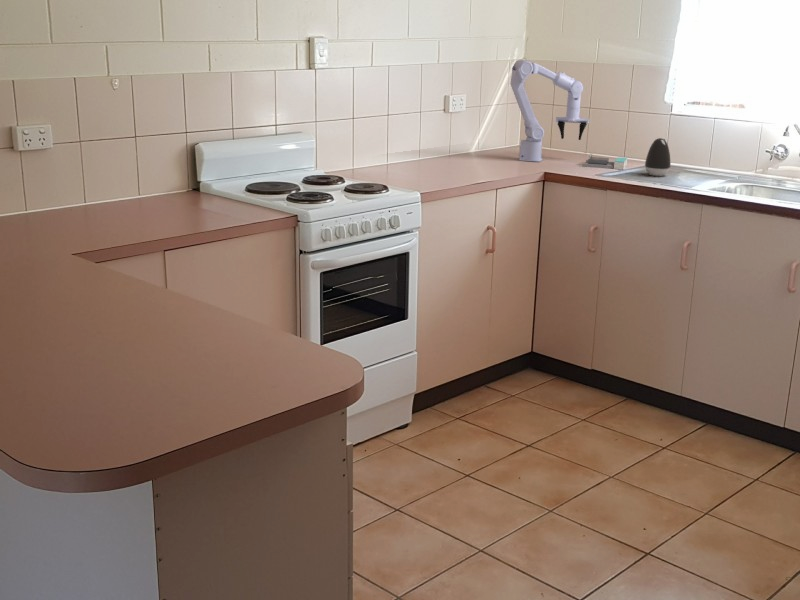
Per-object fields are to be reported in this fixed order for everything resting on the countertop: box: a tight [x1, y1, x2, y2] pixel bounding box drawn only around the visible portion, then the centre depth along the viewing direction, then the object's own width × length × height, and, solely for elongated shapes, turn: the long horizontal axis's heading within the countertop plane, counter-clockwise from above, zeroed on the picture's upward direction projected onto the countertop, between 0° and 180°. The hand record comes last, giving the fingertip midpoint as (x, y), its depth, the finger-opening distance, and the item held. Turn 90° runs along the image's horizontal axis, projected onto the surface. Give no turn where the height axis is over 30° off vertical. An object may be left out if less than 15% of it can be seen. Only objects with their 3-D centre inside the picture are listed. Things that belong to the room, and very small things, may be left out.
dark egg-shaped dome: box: [644, 137, 672, 177], centre depth 383 cm, size 10×10×15 cm
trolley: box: [587, 153, 610, 165], centre depth 405 cm, size 8×7×4 cm
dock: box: [581, 157, 628, 170], centre depth 404 cm, size 18×12×3 cm
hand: (571, 139), depth 415 cm, fingers open, 7 cm apart
